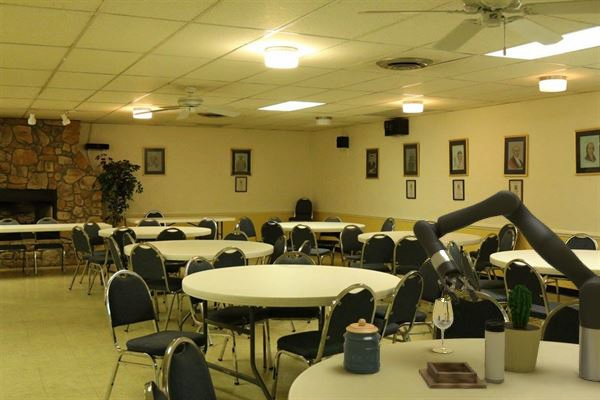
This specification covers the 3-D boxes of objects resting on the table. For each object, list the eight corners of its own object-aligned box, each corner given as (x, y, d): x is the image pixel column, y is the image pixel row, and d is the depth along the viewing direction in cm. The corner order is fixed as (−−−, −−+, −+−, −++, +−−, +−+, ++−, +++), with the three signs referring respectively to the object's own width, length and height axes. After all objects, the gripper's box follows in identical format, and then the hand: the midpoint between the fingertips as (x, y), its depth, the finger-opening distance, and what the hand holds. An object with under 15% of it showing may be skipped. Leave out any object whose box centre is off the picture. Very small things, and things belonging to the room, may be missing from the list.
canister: (335, 369, 221) (336, 318, 221) (358, 361, 231) (358, 313, 230) (365, 377, 213) (365, 324, 212) (387, 369, 222) (388, 318, 222)
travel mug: (506, 379, 211) (507, 319, 211) (501, 384, 205) (502, 323, 205) (487, 376, 214) (488, 317, 214) (481, 381, 209) (482, 320, 208)
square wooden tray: (470, 371, 219) (471, 360, 219) (486, 388, 201) (486, 376, 201) (419, 371, 219) (419, 359, 219) (430, 388, 201) (430, 375, 201)
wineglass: (454, 353, 243) (455, 301, 242) (434, 353, 243) (435, 301, 243) (450, 348, 251) (450, 298, 250) (430, 348, 251) (431, 297, 250)
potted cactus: (508, 359, 236) (509, 278, 235) (548, 367, 225) (550, 283, 224) (487, 367, 225) (488, 283, 224) (528, 376, 214) (530, 288, 213)
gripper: (434, 260, 225) (456, 297, 215) (465, 258, 232) (487, 294, 222) (425, 273, 230) (446, 310, 220) (455, 270, 236) (476, 306, 227)
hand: (467, 302), depth 221 cm, fingers open, 8 cm apart
